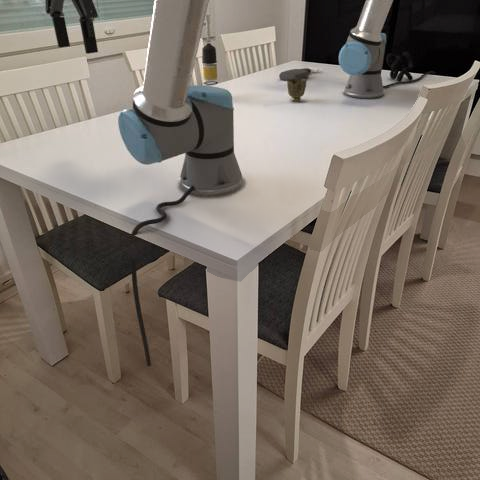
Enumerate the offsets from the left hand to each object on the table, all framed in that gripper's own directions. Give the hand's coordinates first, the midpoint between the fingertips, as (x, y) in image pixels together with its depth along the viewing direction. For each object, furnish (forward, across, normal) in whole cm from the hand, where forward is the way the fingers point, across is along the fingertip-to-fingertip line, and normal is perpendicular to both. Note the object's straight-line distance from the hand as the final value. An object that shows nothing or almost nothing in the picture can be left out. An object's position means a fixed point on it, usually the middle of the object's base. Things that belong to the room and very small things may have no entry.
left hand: (77, 49), depth 106 cm
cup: (+29, -2, +86) cm, 91 cm away
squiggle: (+29, +11, +144) cm, 148 cm away
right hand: (-6, -20, +90) cm, 93 cm away
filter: (+29, -29, +67) cm, 79 cm away
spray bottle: (+29, -28, +122) cm, 129 cm away
